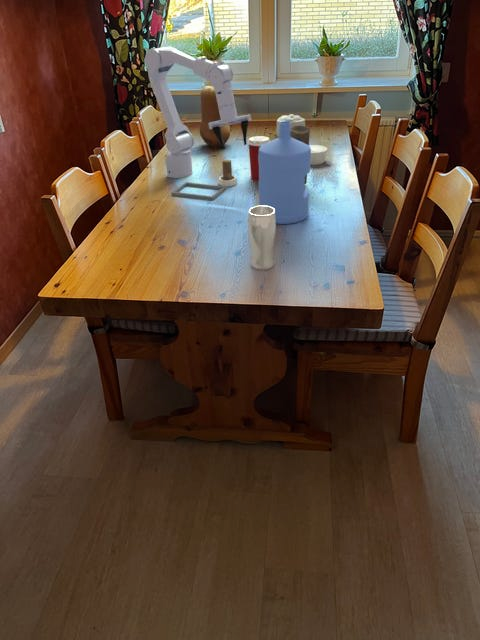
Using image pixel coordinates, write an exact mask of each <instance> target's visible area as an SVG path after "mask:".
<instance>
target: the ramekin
mask: <svg viewBox="0 0 480 640" xmlns="http://www.w3.org/2000/svg"><path fill="white" fill-rule="evenodd" d="M309 146H310V148H311V163H310V166H317V165H322V164H324V163H325V161H326V158H327V155H328V153H327V152H328V151H329V150H328V147H327V146H324V145H320V144H309Z"/></svg>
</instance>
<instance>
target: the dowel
mask: <svg viewBox="0 0 480 640" xmlns="http://www.w3.org/2000/svg"><path fill="white" fill-rule="evenodd" d="M221 163H222V176H223V180H232V175H233V171H232V169H233V168H232V160H230V159H223V160H222V162H221Z"/></svg>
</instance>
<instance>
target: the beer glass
mask: <svg viewBox="0 0 480 640" xmlns="http://www.w3.org/2000/svg"><path fill="white" fill-rule="evenodd" d="M247 218H248V219H247V222H248V223H247V227H248V229H247V230H248V232H247V233H248V236H249V241H250V242H249V243H250V246H251V260H250V266H251V267H252V268H253V269H254V270H260V271H263V270H264V271H265V270H270V269H271V268H272V267H274V265H275V262H274V261H275V260H274V257H273V248H274V243H275V239H276V238H275V237H276V233H277V224H276V217H275V209H274V208H272V207H270V206H259V205H255V206H253V207H250V208H249V209H248V216H247Z"/></svg>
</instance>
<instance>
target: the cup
mask: <svg viewBox="0 0 480 640" xmlns="http://www.w3.org/2000/svg"><path fill="white" fill-rule="evenodd" d="M218 184H219V185H218V186H225V187H233V186H235V185H237V184H238V179H237V176H236V175H233V174H232V180H223V175H220V176H219V177H218Z"/></svg>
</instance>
